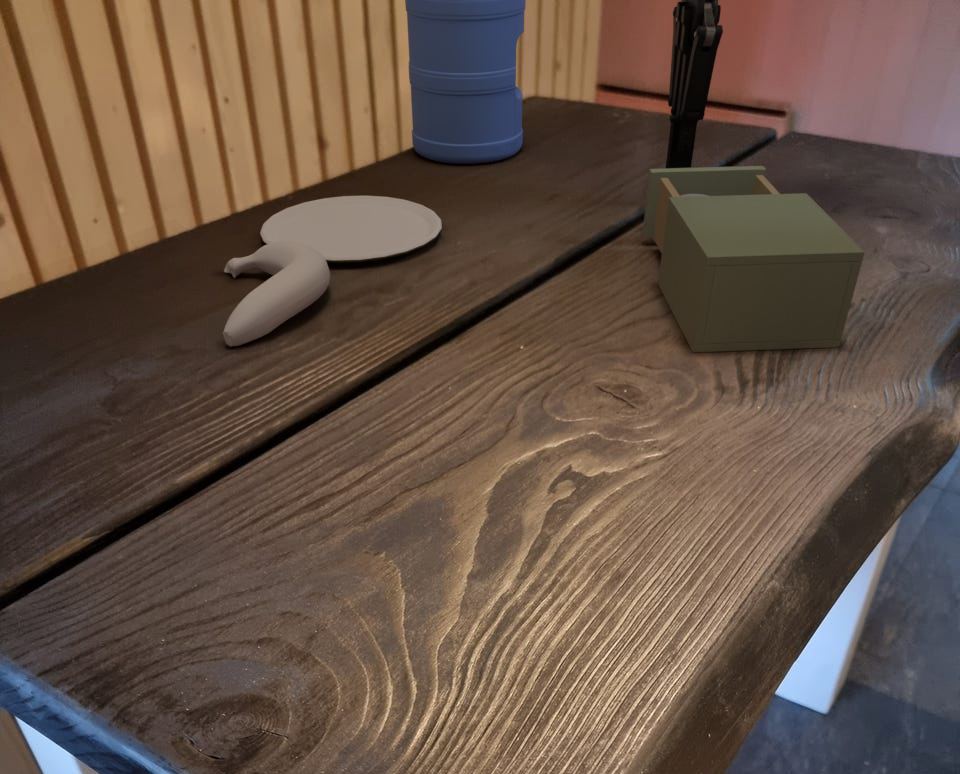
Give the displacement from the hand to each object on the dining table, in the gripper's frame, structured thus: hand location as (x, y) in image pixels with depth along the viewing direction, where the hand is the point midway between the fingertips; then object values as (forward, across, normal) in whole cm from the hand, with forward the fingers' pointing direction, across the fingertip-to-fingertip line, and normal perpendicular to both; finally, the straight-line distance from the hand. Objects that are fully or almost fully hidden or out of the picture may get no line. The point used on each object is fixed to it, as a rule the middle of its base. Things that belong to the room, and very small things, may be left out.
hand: (676, 179), depth 111 cm
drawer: (+2, +17, 0) cm, 17 cm away
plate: (+3, +7, -39) cm, 40 cm away
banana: (+3, +26, -48) cm, 55 cm away
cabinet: (+3, +32, 0) cm, 32 cm away
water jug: (+3, -26, -24) cm, 36 cm away
